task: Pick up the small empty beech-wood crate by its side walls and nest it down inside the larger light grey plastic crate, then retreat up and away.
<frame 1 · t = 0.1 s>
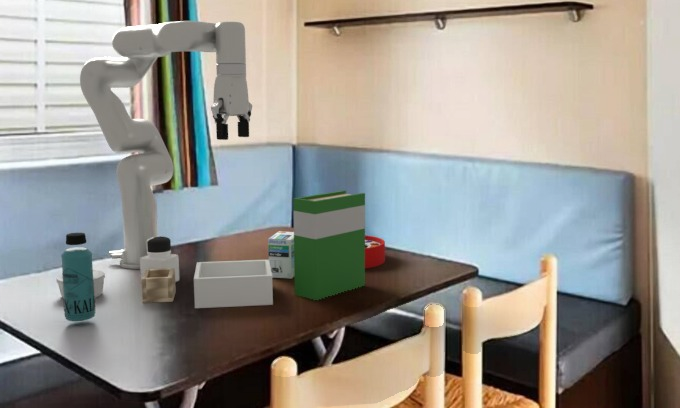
hand: (233, 138, 190), 37 cm above the table, tool pointing down, fingers open, 9 cm apart
hardback book: (330, 290, 184), on the table
light bulb box: (285, 274, 200), on the table
grey plastic crate: (234, 296, 178), on the table
small wooden crate: (159, 297, 179), on the table
toy clock: (350, 261, 214), on the table
ramekin: (82, 296, 180), on the table
medicine bottle: (160, 283, 191), on the table
beverage bottle: (81, 324, 159), on the table
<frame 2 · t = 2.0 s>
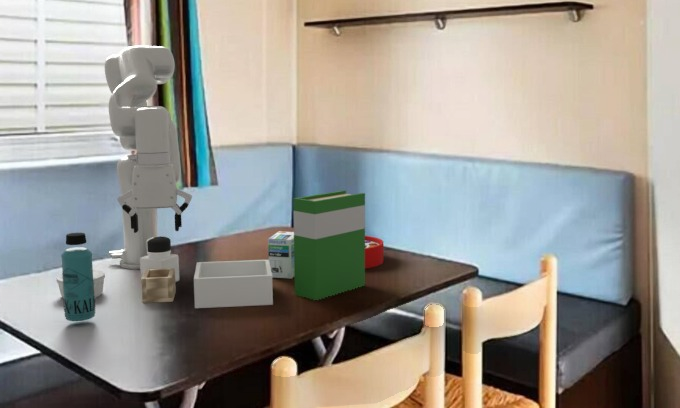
hand: (156, 230, 176), 16 cm above the table, tool pointing down, fingers open, 9 cm apart
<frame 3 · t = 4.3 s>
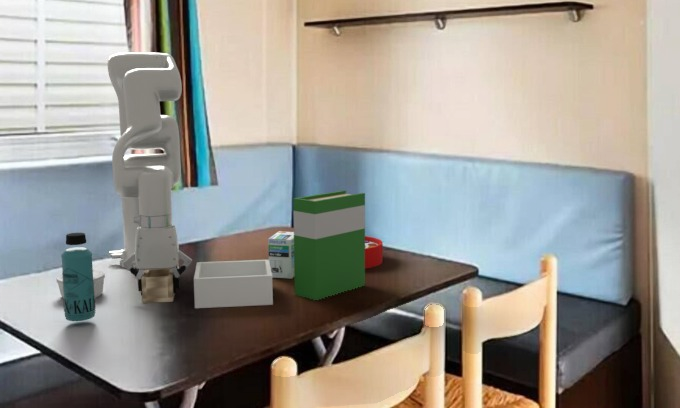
hand: (159, 292, 178), 1 cm above the table, tool pointing down, fingers closed on small wooden crate, 7 cm apart
small wooden crate: (159, 296, 179), on the table, touching gripper
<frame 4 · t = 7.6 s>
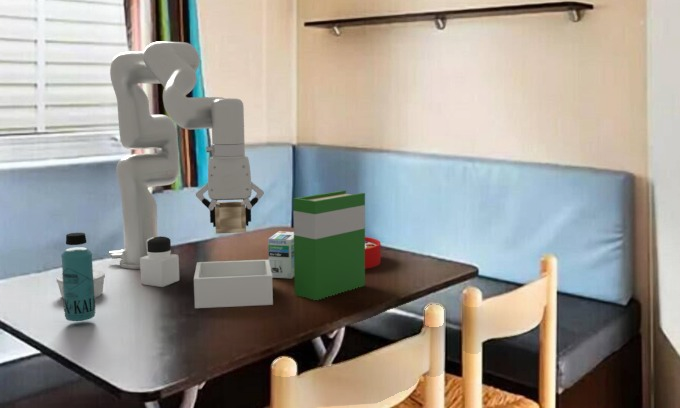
hand: (230, 224, 175), 18 cm above the table, tool pointing down, fingers closed on small wooden crate, 7 cm apart
small wooden crate: (231, 229, 176), point 17 cm above the table, touching gripper
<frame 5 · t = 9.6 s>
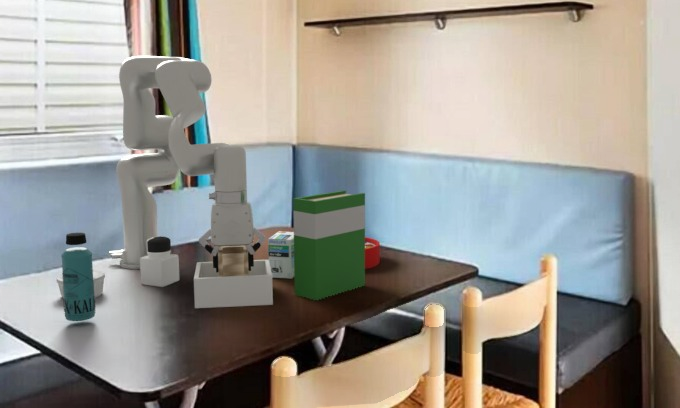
hand: (233, 269, 177), 7 cm above the table, tool pointing down, fingers closed on small wooden crate, 7 cm apart
small wooden crate: (233, 274, 177), point 6 cm above the table, touching gripper
when the fingers open (3 cm above the table, at t = 11.3 s): small wooden crate drops 1 cm, resting on grey plastic crate.
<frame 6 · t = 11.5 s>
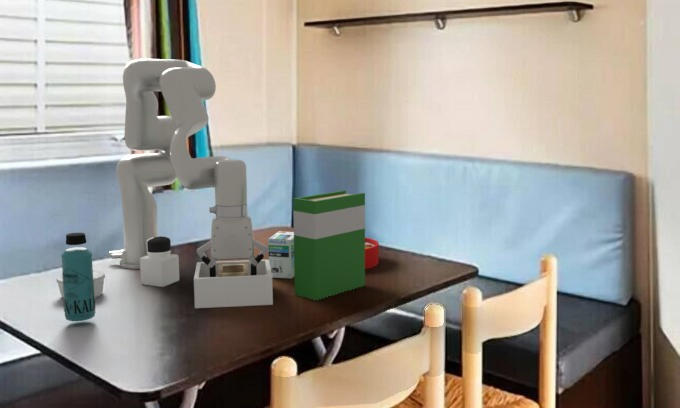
hand: (233, 281, 178), 4 cm above the table, tool pointing down, fingers open, 8 cm apart
small wooden crate: (233, 292, 178), point 1 cm above the table, touching grey plastic crate
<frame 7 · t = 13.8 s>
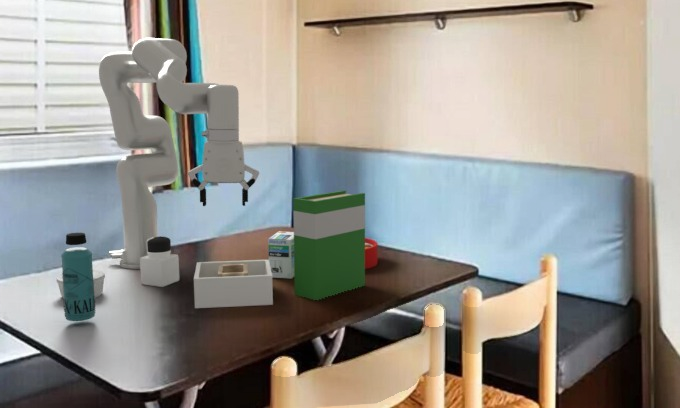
hand: (224, 205, 181), 22 cm above the table, tool pointing down, fingers open, 9 cm apart
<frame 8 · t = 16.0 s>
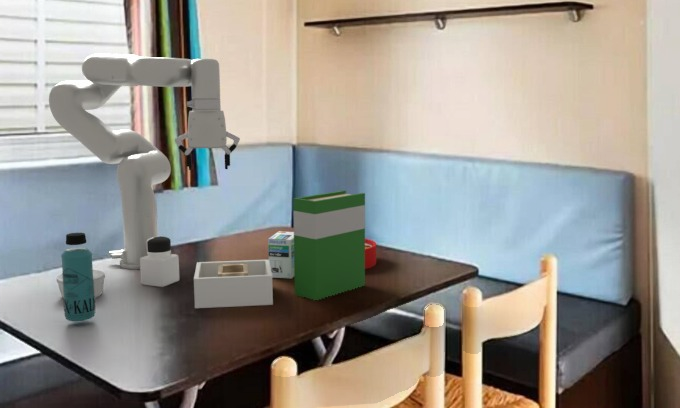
hand: (208, 169, 199), 28 cm above the table, tool pointing down, fingers open, 9 cm apart
at the end: small wooden crate inside the target area on the grey plastic crate (0.1 cm from its centre), point 1.0 cm above the grey plastic crate's base; small wooden crate tilted 0°; the gripper is holding nothing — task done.
